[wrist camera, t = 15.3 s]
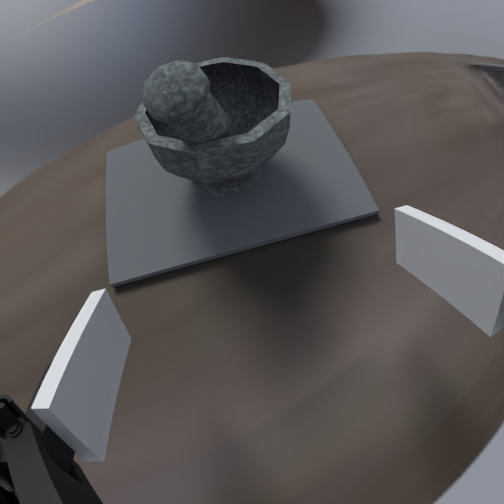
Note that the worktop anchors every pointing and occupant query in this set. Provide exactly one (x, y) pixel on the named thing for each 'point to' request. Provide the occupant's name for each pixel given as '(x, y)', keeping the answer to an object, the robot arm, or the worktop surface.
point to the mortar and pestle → (215, 121)
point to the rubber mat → (228, 202)
